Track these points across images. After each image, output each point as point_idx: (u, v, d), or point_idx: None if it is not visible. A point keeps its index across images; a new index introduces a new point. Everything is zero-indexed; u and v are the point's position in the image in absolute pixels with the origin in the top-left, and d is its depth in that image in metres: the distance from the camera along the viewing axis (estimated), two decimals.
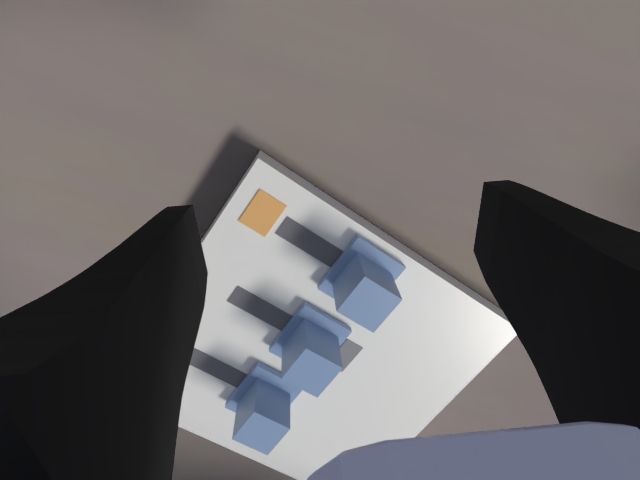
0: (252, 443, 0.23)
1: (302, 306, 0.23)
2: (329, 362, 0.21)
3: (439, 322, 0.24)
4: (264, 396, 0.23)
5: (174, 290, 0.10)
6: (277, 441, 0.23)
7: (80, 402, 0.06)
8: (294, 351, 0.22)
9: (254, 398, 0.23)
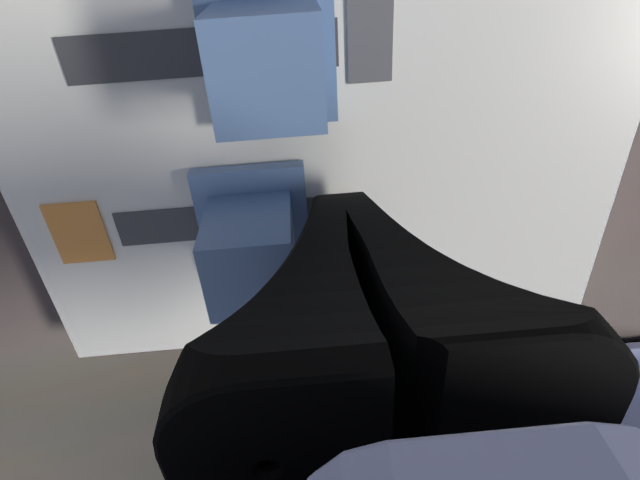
0: None
1: None
2: (277, 18, 0.07)
3: None
4: (222, 217, 0.11)
5: None
6: None
7: None
8: None
9: None
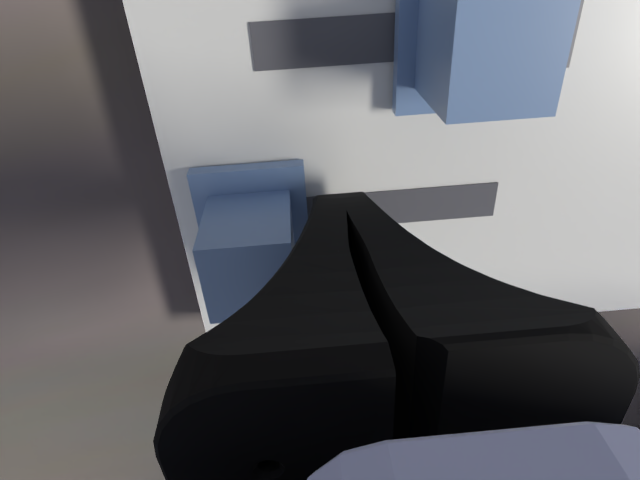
0: None
1: None
2: None
3: None
4: (222, 216, 0.11)
5: None
6: None
7: None
8: (438, 51, 0.09)
9: None
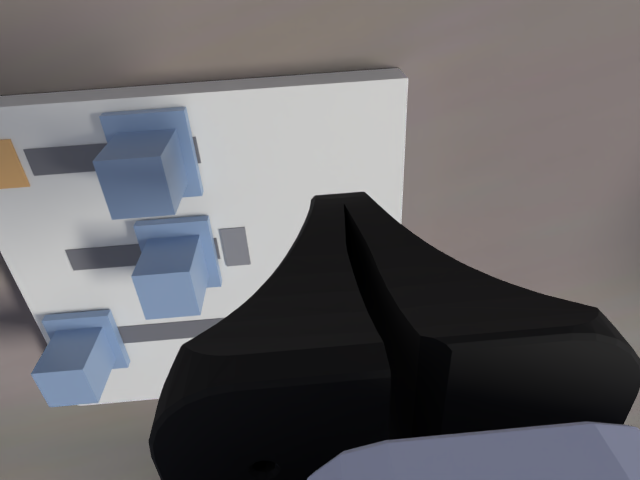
0: (71, 400, 0.19)
1: None
2: (169, 274, 0.16)
3: (297, 141, 0.17)
4: (56, 348, 0.19)
5: None
6: (88, 386, 0.19)
7: None
8: None
9: None
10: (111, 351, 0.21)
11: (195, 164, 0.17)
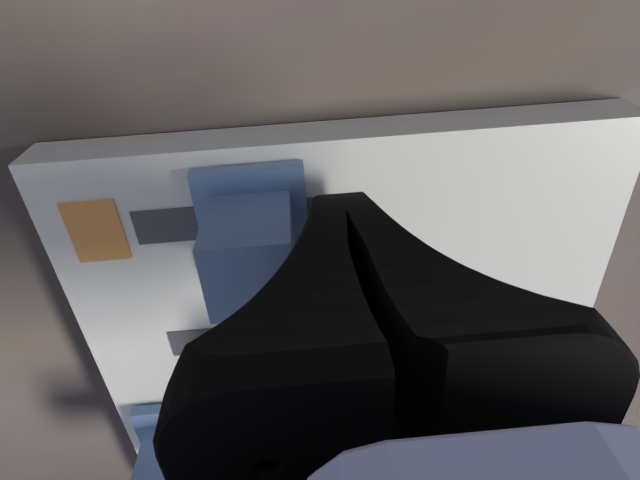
0: None
1: None
2: None
3: (491, 198, 0.13)
4: (152, 454, 0.15)
5: None
6: None
7: None
8: None
9: (135, 467, 0.15)
10: None
11: None
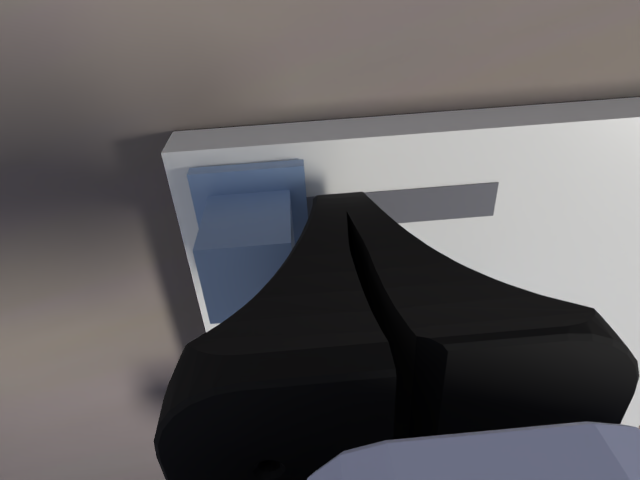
0: None
1: None
2: None
3: (624, 187, 0.13)
4: None
5: None
6: None
7: None
8: None
9: None
10: None
11: None
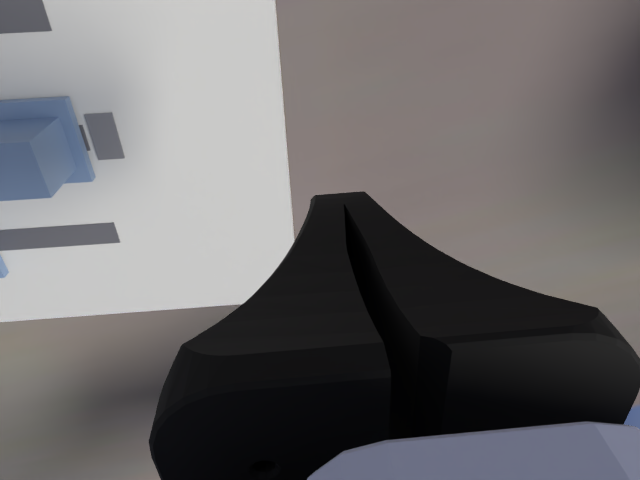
0: None
1: None
2: (7, 145, 0.15)
3: (156, 8, 0.16)
4: None
5: None
6: None
7: None
8: None
9: None
10: None
11: None
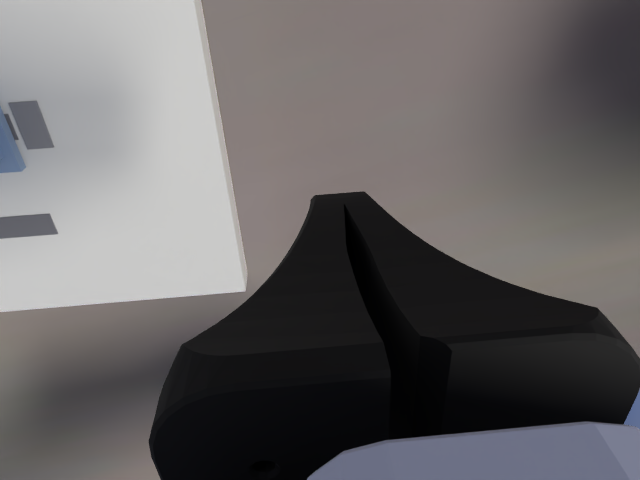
0: None
1: None
2: None
3: None
4: None
5: None
6: None
7: None
8: None
9: None
10: None
11: None
